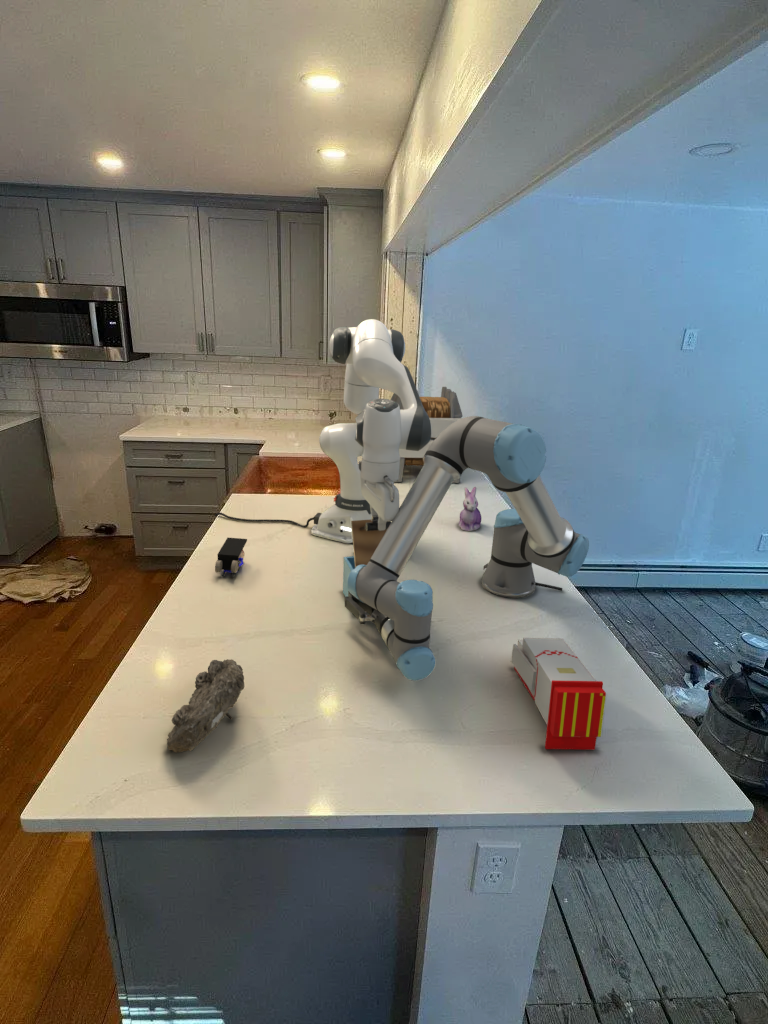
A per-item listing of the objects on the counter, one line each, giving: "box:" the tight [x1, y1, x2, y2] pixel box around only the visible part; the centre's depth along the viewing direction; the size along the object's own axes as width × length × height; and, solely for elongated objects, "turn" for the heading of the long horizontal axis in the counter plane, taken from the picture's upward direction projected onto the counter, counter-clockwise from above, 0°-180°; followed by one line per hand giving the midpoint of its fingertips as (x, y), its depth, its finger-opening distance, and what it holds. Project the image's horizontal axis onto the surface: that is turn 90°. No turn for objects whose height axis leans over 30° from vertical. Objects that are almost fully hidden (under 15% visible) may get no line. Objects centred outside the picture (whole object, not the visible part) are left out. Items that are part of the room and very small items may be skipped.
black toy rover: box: [214, 537, 248, 578], centre depth 166 cm, size 7×8×15 cm
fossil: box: [166, 658, 245, 754], centre depth 106 cm, size 22×10×15 cm
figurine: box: [458, 486, 482, 532], centre depth 206 cm, size 9×10×15 cm
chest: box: [342, 555, 369, 615], centre depth 151 cm, size 14×10×11 cm
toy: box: [510, 637, 607, 751], centre depth 115 cm, size 12×13×30 cm
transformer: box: [390, 386, 463, 484], centre depth 268 cm, size 34×33×41 cm
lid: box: [351, 520, 392, 567], centre depth 140 cm, size 14×10×9 cm
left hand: (378, 525), depth 137 cm, fingers open, 3 cm apart
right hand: (369, 584), depth 148 cm, fingers closed on chest, 9 cm apart
